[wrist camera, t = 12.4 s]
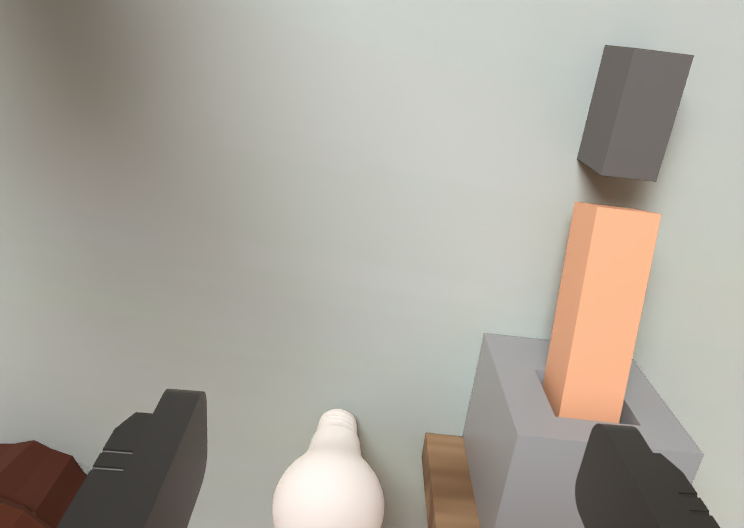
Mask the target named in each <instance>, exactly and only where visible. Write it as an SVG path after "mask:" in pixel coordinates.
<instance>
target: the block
mask: <svg viewBox="0 0 744 528" xmlns="http://www.w3.org/2000/svg"><path fill="white" fill-rule="evenodd" d="M549 346H550V340H542V339H533V338H524V337H515V336H506V335H497V334H488V333H484V337H483V342H482V346H481V351H480V356H479V361H478V365H477V370H476V375H475V380H474V384H473V389H472V394H471V399H470V403H469V408H468V413H467V418H466V422H465V427H464V432H463V442H464V447H465V452H466V457H467V462H468V467H469V472H470V478H471V483H472V488H473V493H474V498H475V503H476V508H477V514H478V519H479V524H480V528H585V527H584V525H583V522H582V520H581V517H580V515H579V512H578V510H577V506H576V500H575V484H576V479H577V475H578V472H579V469H580V465H581V462H582V459H583V456H584V452H585V449H586V446H587V443H588V439H589V436H590V433H591V430H592V428H593V427H594V425H596V424H598V423H600V424H613V425H626V426H634V427H636V428H637V429H638V430H639V432H640V433H641V435H642V436H643V438H644V439H645V441H646V443H647V444H648V446H649V447H650V449H651V450H652V452H653V453H661V454H662V455H663V456H665V457H666V458H667V459H668V460H669V461H670V462H672V463H673V464H674V465H675V466H676V467H677V468H679V469H680V470H681V471H682V472H683V473H684V474H685V476H686V477H687V479H688V480H689V482H690V483H691V485H692V482H693V480H694V477H695V475H696V472H697V470H698V468H699V465H700V463H701V460H702V458H703V455H704V454H703V453H702V451H701V450H700V449H699V447H698V446H697V445H696V443H695V442H694V441H693V439H692V438H691V437H690V435H689V434H688V433H687V431H686V430H685V429H684V427H683V426H682V425H681V423H680V422H679V421H678V419H677V418H676V417H675V415H674V414H673V413H672V411H671V410H670V409H669V407H668V406H667V405H666V403H665V402H664V401H663V399H662V398H661V397H660V395H659V394H658V393H657V391H656V390H655V388H654V387H653V386H652V384H651V383H650V382H649V380H648V379H647V378H646V376H645V375H644V374H643V372H642V371H641V370H640V368H639V367H638V366H637V364H636V363H635V362H634V360H633V359H632V362H631V367H630V371H629V376H628V381H627V386H626V391H625V396H624V401H623V406H622V411H621V416H620V421H619V423H610V422H601V421H591V420H582V419H572V418H563V417H555V415H554V412H553V410H552V408H551V405H550V403H549V401H548V399H547V396H546V394H545V392H544V390H543V387H542V386H543V380H544V374H545V369H546V363H547V357H548V352H549Z"/></svg>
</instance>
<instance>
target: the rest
mask: <svg viewBox="0 0 744 528" xmlns="http://www.w3.org/2000/svg"><path fill="white" fill-rule="evenodd" d="M693 57H694V55H687V54H679V53H671V52H663V51H655V50H647V49H639V48H630V47H619V46H609V45H605V48H604V52H603V56H602V60H601V64H600V68H599V72H598V76H597V80H596V84H595V88H594V92H593V96H592V100H591V105H590V109H589V113H588V117H587V121H586V125H585V129H584V133H583V137H582V141H581V145H580V149H579V153H578V157H577V159H578V160H580V161H581V162H583V163H584V164H585V165H587V166H588V167H590V168H591V169H593V170H594V171H596V172H597V173H598V174H600V175H603V176H612V177H620V178H629V179H637V180H645V181H654V182H656V180H657V177H658V174H659V170H660V167H661V164H662V160H663V157H664V154H665V150H666V147H667V144H668V140H669V137H670V134H671V130H672V127H673V124H674V120H675V117H676V114H677V110H678V107H679V104H680V100H681V97H682V94H683V90H684V87H685V84H686V80H687V77H688V74H689V70H690V67H691V64H692V60H693Z"/></svg>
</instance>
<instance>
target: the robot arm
mask: <svg viewBox="0 0 744 528" xmlns="http://www.w3.org/2000/svg"><path fill="white" fill-rule="evenodd" d="M206 461H207V401H206V394H205V392H203V391H190V390H177V389H167V390H166V391H165V392H164V394H163V395H162V397H161V399H160V401H159V403H158V405H157V407H156V409H155V411H154V413H153V414H151V413H138V412H136V413H134V414H133V415H132V416H131V417H129V418H128V419H127V420H125V421H124V422H123V423H122V424H120V425H119V426H118V427H117V428H115V429H114V431H113V433H112V435H111V436H110V438H109V440H108V441H107V443H106V445H105V446H104V448H103V452H102V453H100V455H99V457H98V458H97V460H96V462H95V463H94V465H93V469H92V470H90V472H89V473H88V475H87V477H86V479H85V480H84V482H83V484H82V485H81V487H80V489H79V490H78V492H77V494H76V495H75V497H74V499H73V500H72V502H71V504H70V506H69V507H68V509H67V511H66V512H65V514H64V516H63V517H62V519H61V521H60V522H59V524H58V526H57V528H187V526H188V523H189V520H190V517H191V514H192V511H193V508H194V506H195V503H196V500H197V497H198V494H199V491H200V488H201V485H202V482H203V478H204V474H205V468H206ZM575 500H576V506H577V510H578V512H579V515H580V517H581V520H582V522H583V525H584V527H585V528H720V527H719V525H718V524H717V522H716V521H715V519H714V518H713V516H710V515H709V510H708V509H707V507H706V506H705V504H704V503H703V501H702V500H701V498H698V497H697V492H696V491H695V489H694V488H693V486H692V485H691V483H690V482H689V480H688V479H687V477H686V476H685V474H684V473H683V472H682V471H681V470H680V469H679V468H677V467H676V466H675V465H674V464H673V463H672V462H670V461H669V460H668V459H667V458H666V457H665V456H663V455H662V454H661V453H653V452H652V450H651V449H650V447H649V446H648V444H647V443H646V441H645V439H644V438H643V436H642V435H641V433H640V432H639V430H638V429H637V428H636V427H634V426H626V425H613V424H600V423H598V424H596V425H594V427H593V428H592V430H591V433H590V436H589V439H588V443H587V446H586V449H585V452H584V456H583V459H582V462H581V465H580V469H579V472H578V475H577V479H576V484H575Z"/></svg>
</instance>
